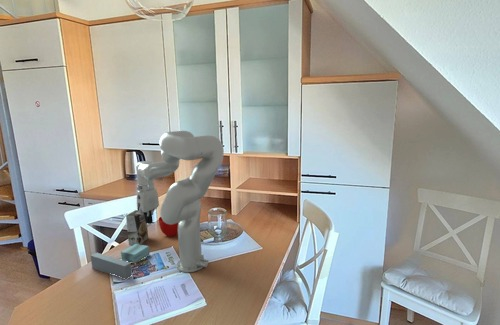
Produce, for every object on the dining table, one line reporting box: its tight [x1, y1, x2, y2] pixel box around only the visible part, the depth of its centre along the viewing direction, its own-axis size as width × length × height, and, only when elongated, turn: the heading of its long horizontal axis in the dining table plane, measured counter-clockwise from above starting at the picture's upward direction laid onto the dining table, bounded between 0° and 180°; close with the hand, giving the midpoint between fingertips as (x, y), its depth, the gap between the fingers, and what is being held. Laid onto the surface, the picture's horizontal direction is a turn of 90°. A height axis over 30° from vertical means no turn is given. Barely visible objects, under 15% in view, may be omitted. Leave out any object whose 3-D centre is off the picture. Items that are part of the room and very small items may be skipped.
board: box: [90, 252, 133, 280], centre depth 123 cm, size 22×3×6 cm, turn 62°
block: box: [120, 244, 150, 263], centre depth 135 cm, size 8×9×5 cm
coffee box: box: [125, 209, 149, 246], centre depth 153 cm, size 9×6×16 cm
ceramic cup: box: [158, 216, 179, 238], centre depth 160 cm, size 13×17×10 cm
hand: (149, 222), depth 142 cm, fingers closed
